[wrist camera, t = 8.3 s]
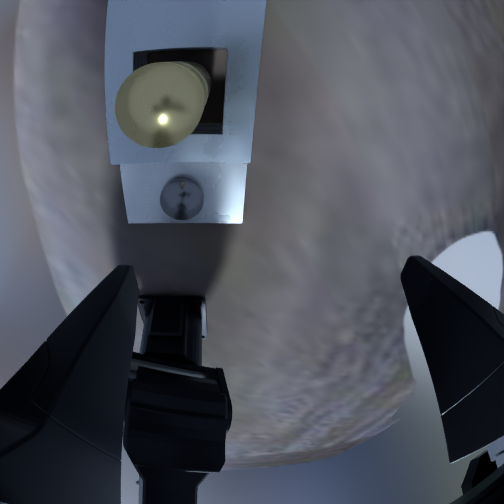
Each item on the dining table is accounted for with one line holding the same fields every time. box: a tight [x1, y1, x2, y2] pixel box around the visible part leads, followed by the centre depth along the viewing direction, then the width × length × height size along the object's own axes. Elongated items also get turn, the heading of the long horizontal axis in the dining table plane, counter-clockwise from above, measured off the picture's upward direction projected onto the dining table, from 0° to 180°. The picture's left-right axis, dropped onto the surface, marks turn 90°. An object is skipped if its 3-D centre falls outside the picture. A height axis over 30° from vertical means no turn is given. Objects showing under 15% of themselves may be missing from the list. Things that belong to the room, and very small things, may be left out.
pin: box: [115, 61, 212, 148], centre depth 11 cm, size 3×3×8 cm
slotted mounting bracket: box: [105, 0, 266, 223], centre depth 13 cm, size 18×8×4 cm, turn 175°
